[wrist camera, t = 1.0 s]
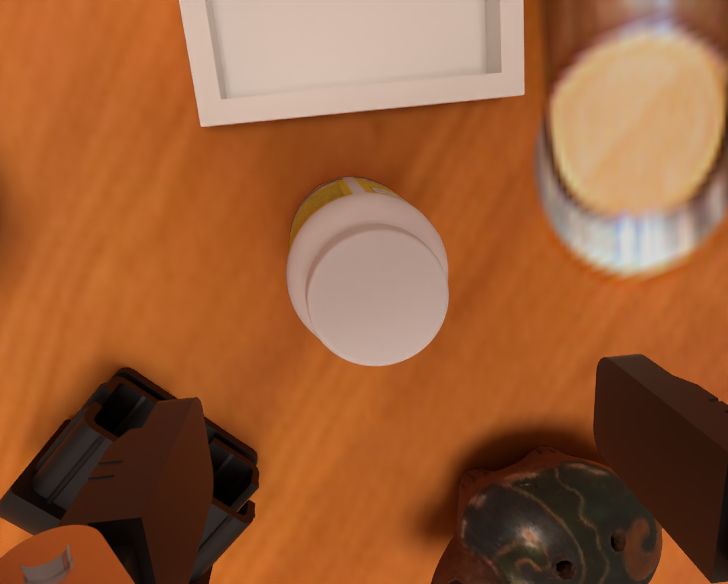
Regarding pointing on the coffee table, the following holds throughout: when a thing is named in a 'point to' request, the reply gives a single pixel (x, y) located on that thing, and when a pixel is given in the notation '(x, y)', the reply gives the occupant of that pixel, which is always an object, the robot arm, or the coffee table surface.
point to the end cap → (90, 441)
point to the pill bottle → (366, 272)
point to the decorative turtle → (550, 526)
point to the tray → (348, 55)
